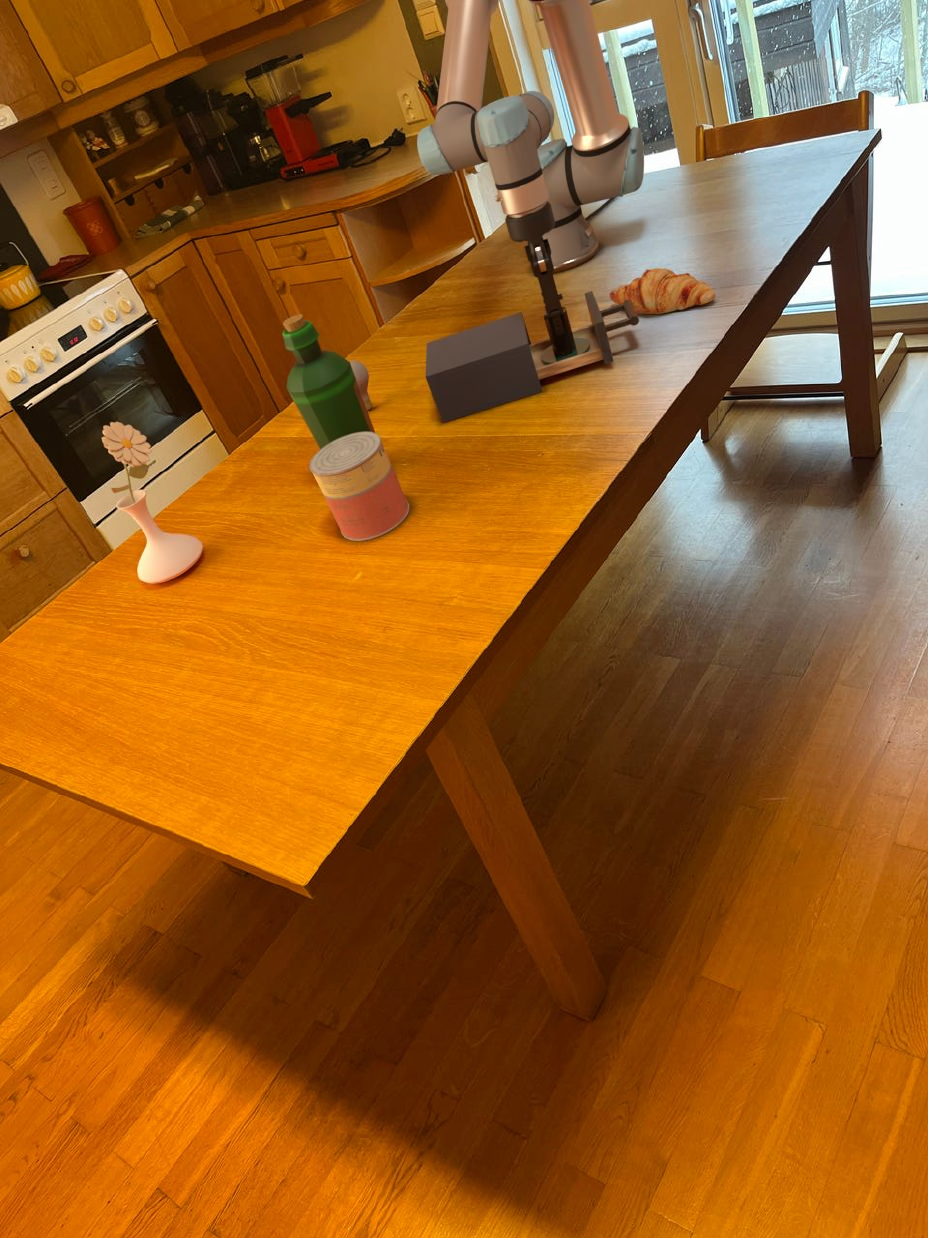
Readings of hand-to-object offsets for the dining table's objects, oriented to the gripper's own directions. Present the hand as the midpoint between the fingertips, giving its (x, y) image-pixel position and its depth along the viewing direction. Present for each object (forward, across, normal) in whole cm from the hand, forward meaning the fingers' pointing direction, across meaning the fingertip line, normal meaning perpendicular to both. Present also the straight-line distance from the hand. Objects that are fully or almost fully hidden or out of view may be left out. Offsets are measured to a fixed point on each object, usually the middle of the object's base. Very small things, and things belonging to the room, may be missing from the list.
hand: (563, 344), depth 156 cm
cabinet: (+4, 0, -14) cm, 15 cm away
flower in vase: (+4, +29, -70) cm, 75 cm away
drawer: (+2, 0, +1) cm, 3 cm away
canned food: (+4, +33, -34) cm, 48 cm away
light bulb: (+4, -8, -38) cm, 40 cm away
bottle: (+4, +18, -38) cm, 42 cm away
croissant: (+4, -12, +19) cm, 23 cm away
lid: (+2, 0, 0) cm, 2 cm away
